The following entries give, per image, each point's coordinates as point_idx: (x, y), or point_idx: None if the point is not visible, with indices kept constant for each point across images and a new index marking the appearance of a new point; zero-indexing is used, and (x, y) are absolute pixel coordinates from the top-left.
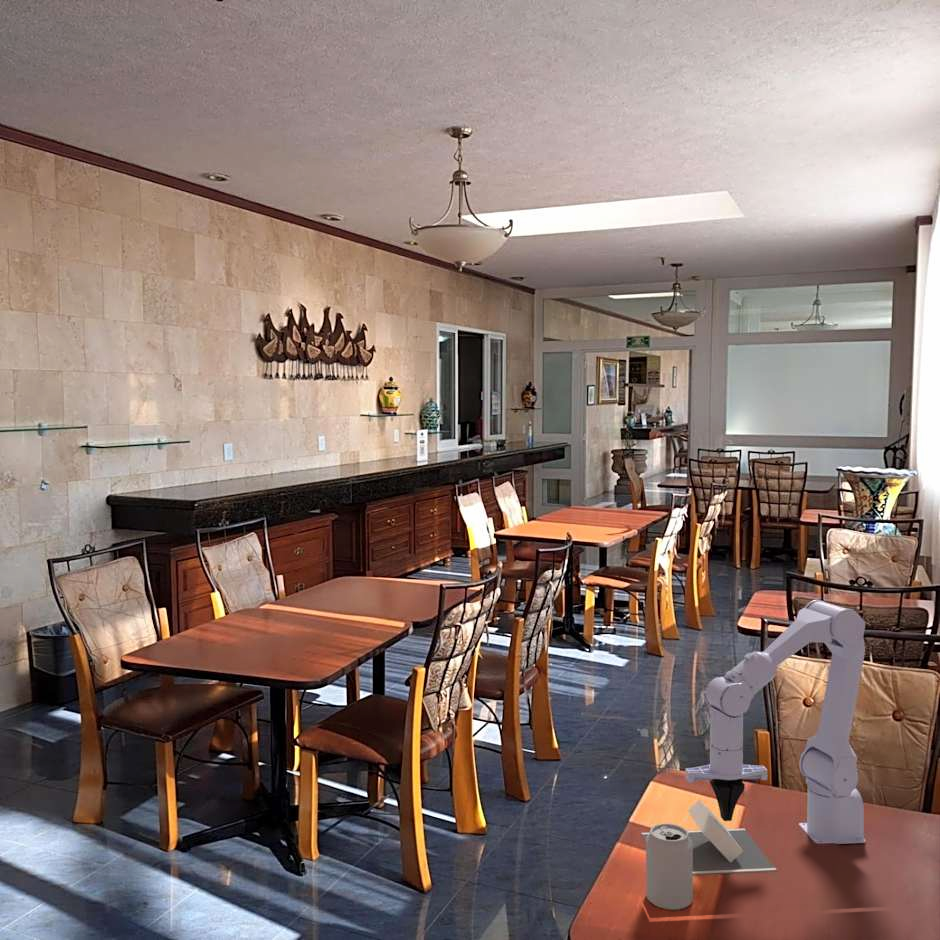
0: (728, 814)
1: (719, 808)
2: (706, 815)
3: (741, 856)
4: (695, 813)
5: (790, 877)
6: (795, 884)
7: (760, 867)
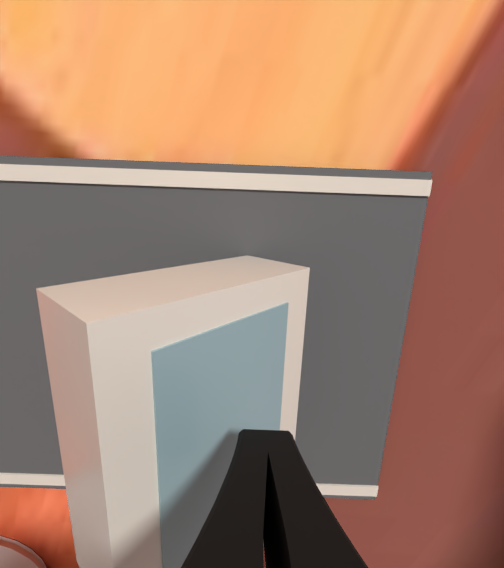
0: (264, 545)
1: (230, 466)
2: (98, 532)
3: (299, 404)
4: (62, 397)
5: (401, 509)
6: (393, 540)
7: (331, 474)
